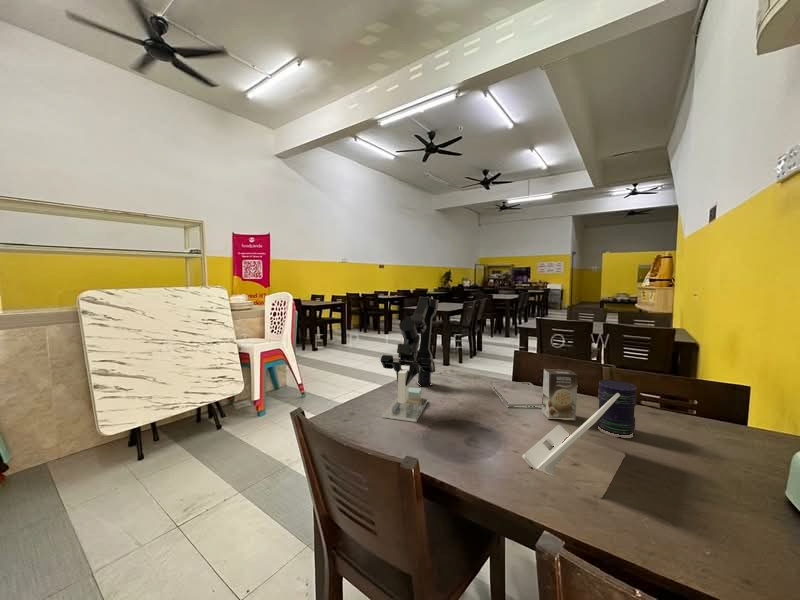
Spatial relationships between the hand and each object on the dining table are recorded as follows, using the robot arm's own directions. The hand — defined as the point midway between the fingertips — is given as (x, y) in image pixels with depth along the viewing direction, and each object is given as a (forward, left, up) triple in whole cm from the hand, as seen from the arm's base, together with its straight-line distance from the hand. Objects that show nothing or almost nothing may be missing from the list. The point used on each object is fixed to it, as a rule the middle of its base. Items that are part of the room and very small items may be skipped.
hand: (402, 384), depth 110 cm
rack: (-5, +3, -11) cm, 12 cm away
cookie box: (+13, +53, -11) cm, 55 cm away
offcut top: (-11, +6, -8) cm, 15 cm away
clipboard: (-10, +53, -12) cm, 55 cm away
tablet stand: (+37, +38, -11) cm, 54 cm away
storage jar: (+26, +63, -11) cm, 69 cm away
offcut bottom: (-11, +6, -10) cm, 16 cm away
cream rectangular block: (-1, +1, -6) cm, 6 cm away
